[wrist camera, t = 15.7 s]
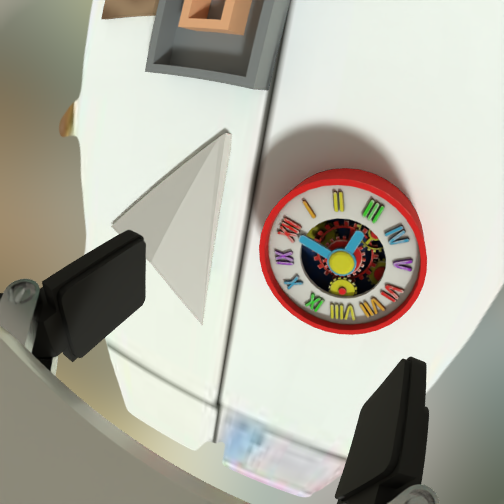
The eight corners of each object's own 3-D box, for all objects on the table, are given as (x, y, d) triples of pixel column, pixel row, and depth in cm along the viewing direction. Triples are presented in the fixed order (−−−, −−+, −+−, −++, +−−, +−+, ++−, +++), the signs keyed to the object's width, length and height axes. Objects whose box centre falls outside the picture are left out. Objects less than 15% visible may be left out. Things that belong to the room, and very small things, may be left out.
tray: (194, -48, 28) (175, -57, 25) (302, -48, 24) (291, -62, 21) (166, 71, 39) (145, 71, 35) (268, 90, 35) (253, 89, 31)
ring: (207, -15, 30) (190, -22, 27) (255, -13, 28) (240, -23, 25) (196, 30, 34) (178, 26, 30) (243, 35, 32) (227, 30, 29)
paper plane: (307, 191, 39) (297, 199, 36) (213, 314, 56) (200, 327, 52) (165, 88, 41) (145, 89, 38) (114, 224, 58) (99, 232, 54)
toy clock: (364, 357, 39) (237, 282, 43) (370, 330, 44) (255, 262, 47) (461, 243, 28) (299, 144, 31) (453, 223, 33) (313, 138, 36)
